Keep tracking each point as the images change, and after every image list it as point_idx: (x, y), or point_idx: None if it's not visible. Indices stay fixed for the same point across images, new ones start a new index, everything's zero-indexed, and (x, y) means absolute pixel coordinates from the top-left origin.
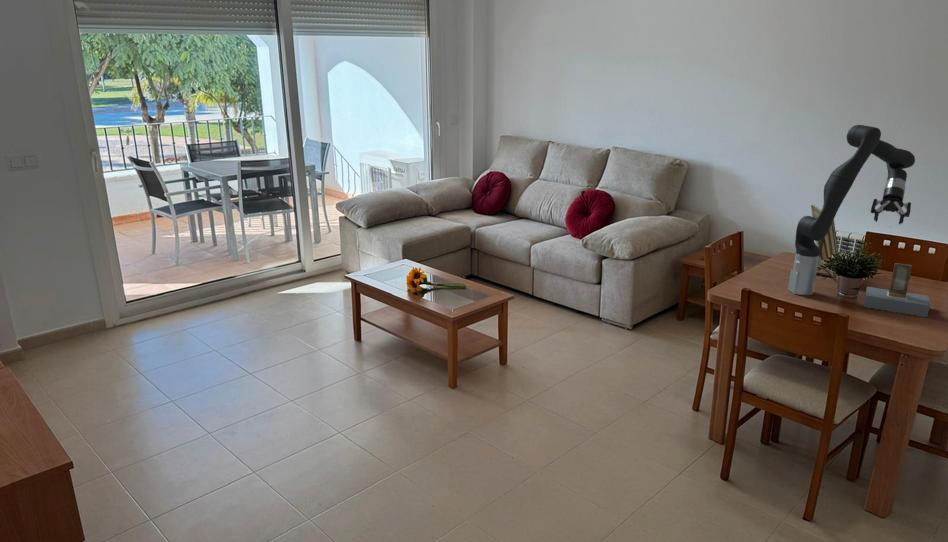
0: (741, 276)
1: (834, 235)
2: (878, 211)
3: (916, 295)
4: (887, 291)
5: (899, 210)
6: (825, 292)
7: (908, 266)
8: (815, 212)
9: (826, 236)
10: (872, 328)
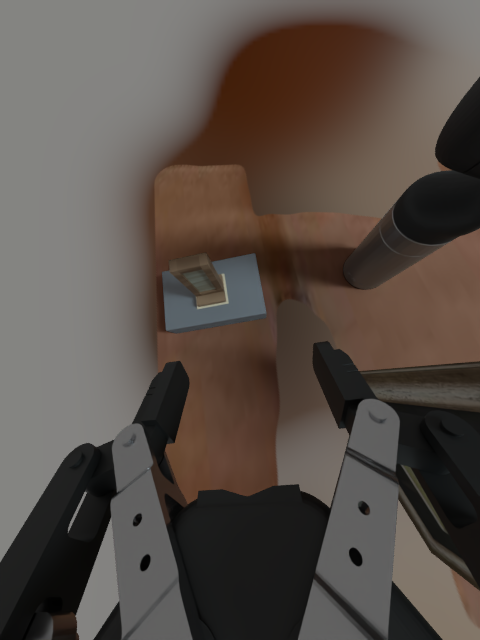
0: None
1: (457, 365)
2: (357, 410)
3: (183, 317)
4: (228, 303)
5: (150, 465)
6: (330, 301)
7: (176, 259)
8: None
9: None
10: (226, 185)
